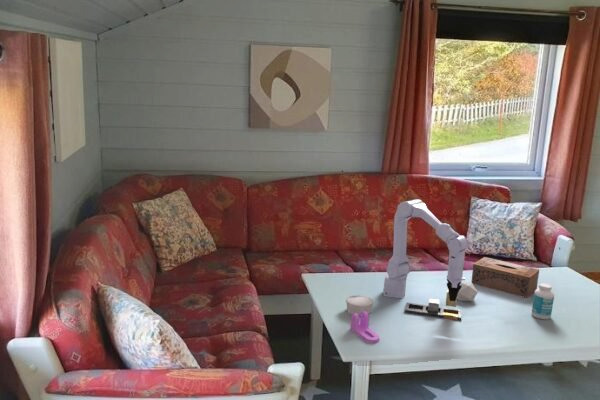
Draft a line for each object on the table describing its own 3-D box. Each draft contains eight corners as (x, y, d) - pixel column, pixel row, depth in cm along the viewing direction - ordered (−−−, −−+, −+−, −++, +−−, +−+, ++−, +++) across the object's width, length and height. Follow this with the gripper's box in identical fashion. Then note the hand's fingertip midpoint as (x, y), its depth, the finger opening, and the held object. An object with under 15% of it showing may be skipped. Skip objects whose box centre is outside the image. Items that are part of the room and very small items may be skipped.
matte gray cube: (427, 313, 222) (428, 302, 221) (428, 309, 225) (429, 298, 224) (437, 315, 221) (439, 303, 220) (438, 311, 224) (439, 299, 223)
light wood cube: (445, 305, 219) (446, 293, 218) (445, 301, 223) (447, 290, 222) (456, 307, 218) (457, 295, 217) (456, 303, 222) (457, 291, 221)
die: (472, 308, 233) (484, 288, 234) (454, 296, 233) (466, 276, 235) (465, 307, 241) (477, 287, 243) (448, 295, 242) (459, 276, 243)
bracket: (350, 329, 207) (351, 312, 206) (362, 326, 210) (363, 309, 208) (369, 344, 196) (370, 326, 194) (382, 341, 198) (383, 323, 197)
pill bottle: (542, 321, 221) (546, 289, 218) (527, 314, 227) (531, 283, 224) (554, 318, 224) (559, 287, 221) (539, 311, 231) (544, 281, 228)
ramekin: (357, 304, 231) (357, 292, 230) (378, 312, 223) (379, 300, 222) (339, 311, 223) (340, 299, 222) (360, 320, 215) (361, 307, 214)
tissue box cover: (536, 289, 256) (539, 269, 254) (527, 298, 245) (530, 277, 243) (482, 276, 271) (484, 256, 269) (471, 283, 260) (473, 263, 258)
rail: (404, 314, 222) (404, 309, 222) (406, 306, 230) (406, 302, 229) (460, 322, 217) (461, 317, 216) (460, 314, 224) (461, 309, 224)
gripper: (466, 273, 209) (463, 306, 212) (465, 261, 223) (462, 293, 226) (447, 271, 211) (444, 304, 214) (448, 259, 224) (444, 291, 227)
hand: (452, 298), depth 220 cm, fingers closed on light wood cube, 4 cm apart
